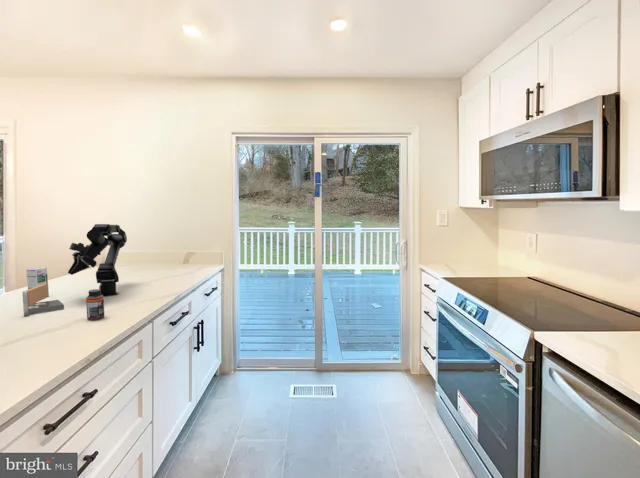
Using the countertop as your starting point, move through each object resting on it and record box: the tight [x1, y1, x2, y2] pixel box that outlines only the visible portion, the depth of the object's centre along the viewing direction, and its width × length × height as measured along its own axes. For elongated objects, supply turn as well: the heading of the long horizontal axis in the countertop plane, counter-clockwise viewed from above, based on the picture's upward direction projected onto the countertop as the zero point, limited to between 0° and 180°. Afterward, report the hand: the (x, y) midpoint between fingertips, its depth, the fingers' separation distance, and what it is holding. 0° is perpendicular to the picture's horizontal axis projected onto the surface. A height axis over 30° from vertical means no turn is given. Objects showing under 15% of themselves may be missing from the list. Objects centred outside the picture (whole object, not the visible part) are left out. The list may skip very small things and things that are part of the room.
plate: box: [22, 290, 65, 317], centre depth 158 cm, size 14×14×10 cm
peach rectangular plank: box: [25, 282, 50, 305], centre depth 157 cm, size 2×14×6 cm, turn 11°
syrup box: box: [25, 266, 49, 290], centre depth 179 cm, size 6×6×14 cm
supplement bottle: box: [85, 288, 105, 321], centre depth 147 cm, size 6×6×11 cm
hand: (69, 273), depth 169 cm, fingers open, 3 cm apart
